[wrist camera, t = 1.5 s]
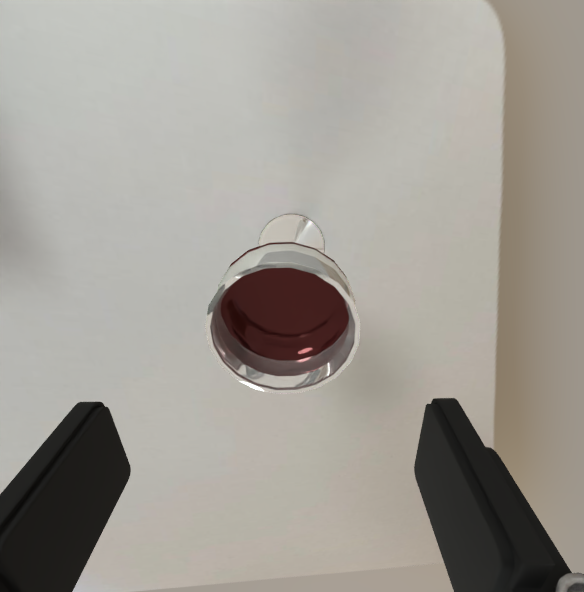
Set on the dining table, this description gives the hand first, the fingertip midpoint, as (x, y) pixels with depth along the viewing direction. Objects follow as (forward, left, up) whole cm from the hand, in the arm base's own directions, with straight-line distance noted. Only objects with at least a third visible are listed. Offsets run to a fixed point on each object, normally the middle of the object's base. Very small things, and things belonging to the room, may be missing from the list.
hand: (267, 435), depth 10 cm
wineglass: (0, 0, -17) cm, 17 cm away
